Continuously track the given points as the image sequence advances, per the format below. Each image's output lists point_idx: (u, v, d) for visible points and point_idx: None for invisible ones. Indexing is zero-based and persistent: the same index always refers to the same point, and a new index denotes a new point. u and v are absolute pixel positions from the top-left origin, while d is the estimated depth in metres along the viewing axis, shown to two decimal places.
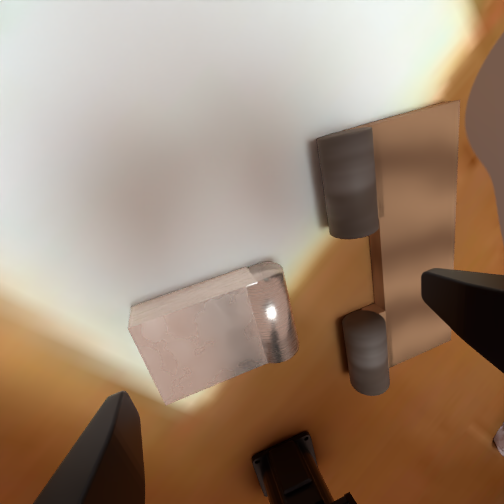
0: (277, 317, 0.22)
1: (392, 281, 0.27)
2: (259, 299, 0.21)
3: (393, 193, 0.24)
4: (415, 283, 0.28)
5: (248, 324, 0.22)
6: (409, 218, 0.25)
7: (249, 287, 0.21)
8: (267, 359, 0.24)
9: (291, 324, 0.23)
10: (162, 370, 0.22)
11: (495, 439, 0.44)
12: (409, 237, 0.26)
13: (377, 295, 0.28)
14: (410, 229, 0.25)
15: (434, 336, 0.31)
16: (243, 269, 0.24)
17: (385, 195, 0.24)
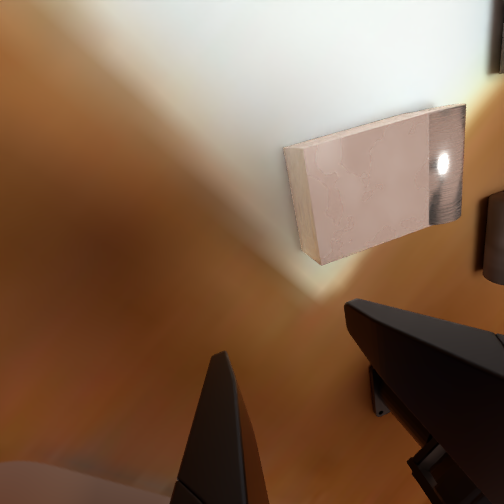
0: (456, 158, 0.19)
1: None
2: (442, 130, 0.18)
3: None
4: None
5: (421, 168, 0.19)
6: None
7: (433, 114, 0.18)
8: (429, 220, 0.21)
9: (462, 175, 0.20)
10: (326, 216, 0.18)
11: None
12: None
13: None
14: None
15: None
16: (404, 113, 0.20)
17: None
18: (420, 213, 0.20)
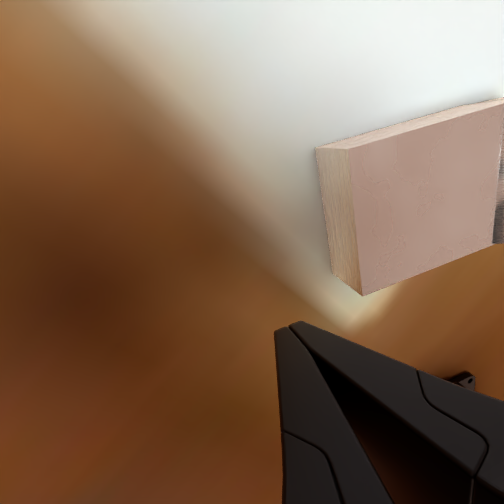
0: None
1: None
2: None
3: None
4: None
5: (489, 174, 0.15)
6: None
7: None
8: (493, 238, 0.17)
9: None
10: (372, 236, 0.14)
11: None
12: None
13: None
14: None
15: None
16: (464, 105, 0.16)
17: None
18: (483, 229, 0.16)
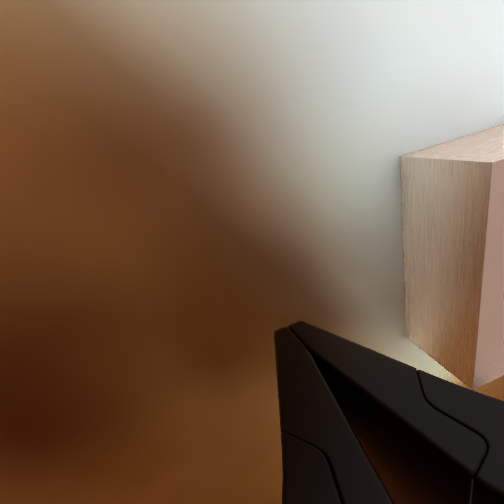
0: None
1: None
2: None
3: None
4: None
5: None
6: None
7: None
8: None
9: None
10: (502, 302, 0.09)
11: None
12: None
13: None
14: None
15: None
16: None
17: None
18: None
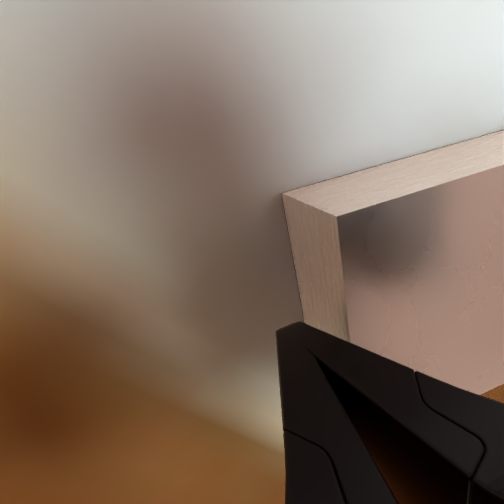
0: None
1: None
2: None
3: None
4: None
5: None
6: None
7: None
8: None
9: None
10: None
11: None
12: None
13: None
14: None
15: None
16: None
17: None
18: None
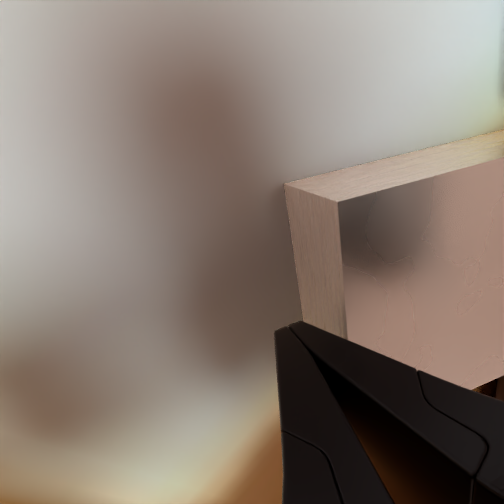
0: None
1: None
2: None
3: None
4: None
5: None
6: None
7: None
8: None
9: None
10: (376, 350, 0.08)
11: None
12: None
13: None
14: None
15: None
16: None
17: None
18: None
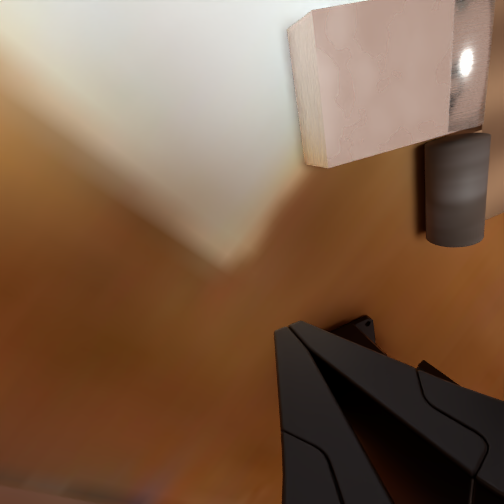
0: (484, 46, 0.16)
1: (495, 80, 0.20)
2: (470, 8, 0.16)
3: None
4: None
5: (443, 57, 0.17)
6: None
7: None
8: (449, 126, 0.18)
9: None
10: (335, 105, 0.16)
11: None
12: None
13: None
14: None
15: None
16: None
17: None
18: (439, 116, 0.18)
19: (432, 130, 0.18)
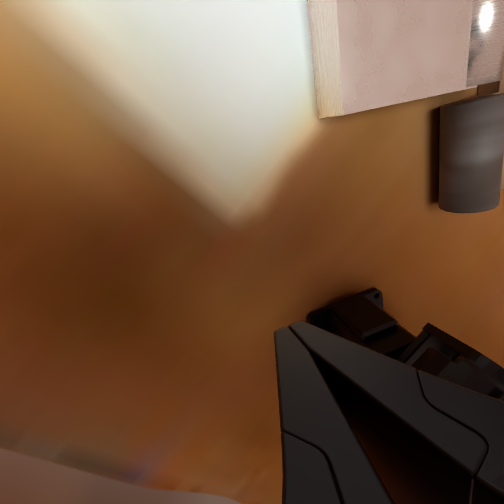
0: None
1: None
2: None
3: None
4: None
5: (464, 5, 0.16)
6: None
7: None
8: (467, 81, 0.18)
9: None
10: (353, 47, 0.15)
11: None
12: None
13: None
14: None
15: None
16: None
17: None
18: (458, 69, 0.17)
19: (450, 83, 0.18)
